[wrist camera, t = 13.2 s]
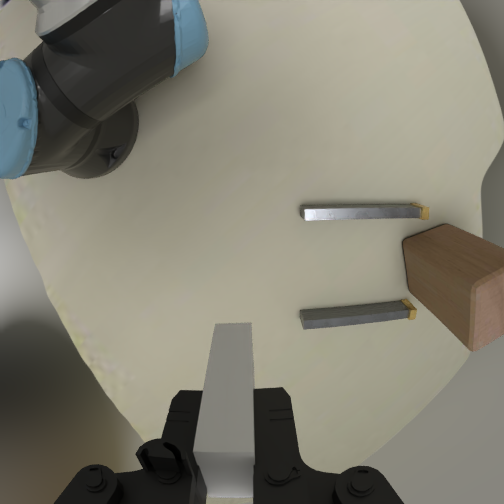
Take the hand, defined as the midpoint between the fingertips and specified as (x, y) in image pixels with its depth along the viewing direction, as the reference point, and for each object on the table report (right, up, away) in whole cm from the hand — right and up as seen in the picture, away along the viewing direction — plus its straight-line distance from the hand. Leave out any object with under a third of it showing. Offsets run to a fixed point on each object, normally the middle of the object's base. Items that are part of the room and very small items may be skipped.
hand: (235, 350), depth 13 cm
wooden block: (+30, +3, +33) cm, 45 cm away
